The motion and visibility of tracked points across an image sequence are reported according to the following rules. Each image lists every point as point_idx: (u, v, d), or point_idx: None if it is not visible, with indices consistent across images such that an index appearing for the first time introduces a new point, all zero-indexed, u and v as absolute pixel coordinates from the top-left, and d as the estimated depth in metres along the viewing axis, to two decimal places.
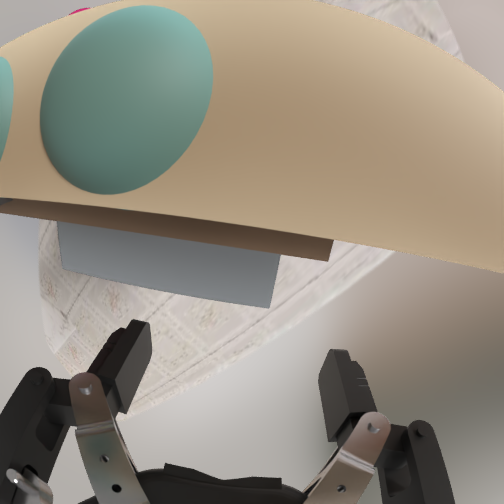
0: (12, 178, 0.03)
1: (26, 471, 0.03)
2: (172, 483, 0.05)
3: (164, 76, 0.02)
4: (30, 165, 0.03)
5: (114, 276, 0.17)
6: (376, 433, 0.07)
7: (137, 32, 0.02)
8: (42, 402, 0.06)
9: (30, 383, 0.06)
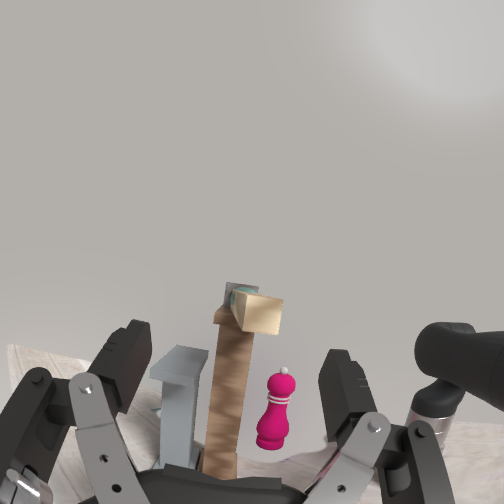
0: None
1: (26, 471, 0.03)
2: (172, 483, 0.05)
3: (248, 289, 0.36)
4: None
5: (172, 351, 0.42)
6: (376, 433, 0.07)
7: (252, 289, 0.37)
8: (42, 402, 0.06)
9: (30, 383, 0.06)
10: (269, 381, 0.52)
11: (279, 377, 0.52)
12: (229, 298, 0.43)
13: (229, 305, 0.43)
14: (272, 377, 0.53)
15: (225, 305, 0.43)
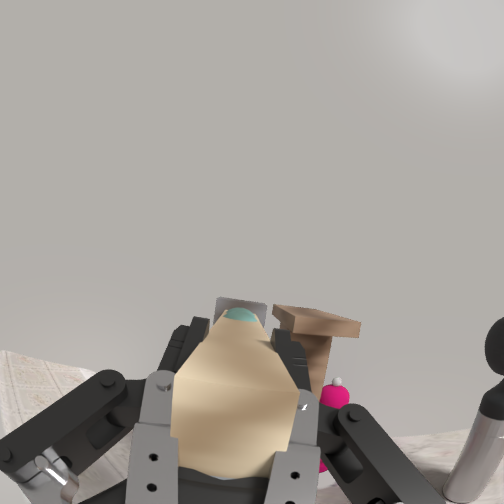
0: (226, 313, 0.23)
1: (59, 461, 0.04)
2: None
3: (242, 315, 0.20)
4: None
5: None
6: (300, 410, 0.07)
7: (249, 315, 0.20)
8: (105, 406, 0.06)
9: (99, 384, 0.07)
10: None
11: (333, 390, 0.41)
12: None
13: None
14: (323, 390, 0.42)
15: None
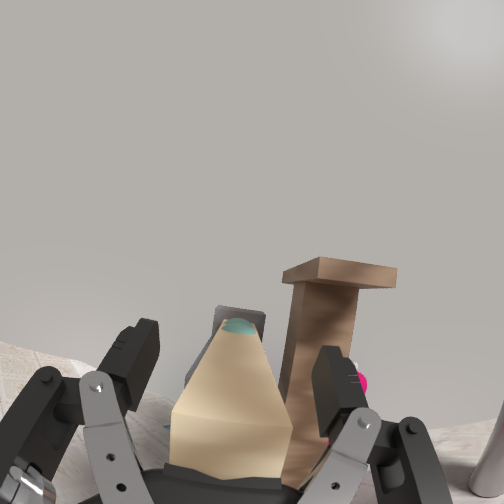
0: (225, 325, 0.23)
1: (30, 469, 0.04)
2: (172, 483, 0.05)
3: (240, 328, 0.20)
4: None
5: None
6: (366, 429, 0.07)
7: (247, 327, 0.20)
8: (50, 401, 0.06)
9: (39, 382, 0.06)
10: None
11: None
12: None
13: None
14: None
15: None
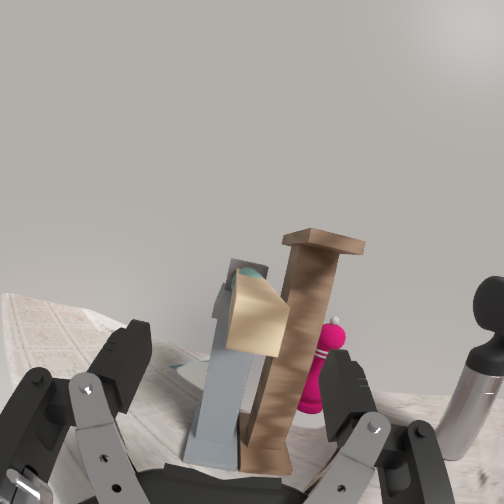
0: (239, 271, 0.32)
1: (26, 471, 0.03)
2: (172, 483, 0.05)
3: (252, 273, 0.29)
4: None
5: (224, 288, 0.37)
6: (376, 433, 0.07)
7: (257, 273, 0.29)
8: (42, 402, 0.06)
9: (30, 383, 0.06)
10: None
11: (331, 327, 0.47)
12: (232, 279, 0.36)
13: (231, 287, 0.36)
14: (322, 328, 0.48)
15: (226, 287, 0.36)
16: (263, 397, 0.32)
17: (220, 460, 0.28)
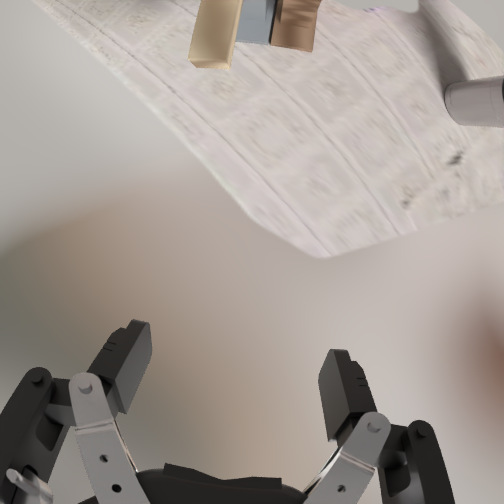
0: None
1: (26, 471, 0.03)
2: (172, 483, 0.05)
3: None
4: None
5: None
6: (376, 433, 0.07)
7: None
8: (42, 402, 0.06)
9: (30, 383, 0.06)
10: None
11: None
12: None
13: None
14: None
15: None
16: None
17: (255, 37, 0.35)
